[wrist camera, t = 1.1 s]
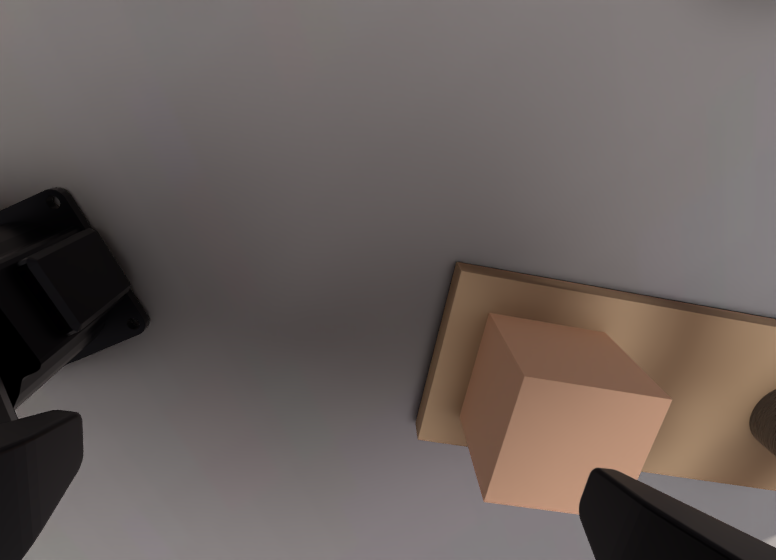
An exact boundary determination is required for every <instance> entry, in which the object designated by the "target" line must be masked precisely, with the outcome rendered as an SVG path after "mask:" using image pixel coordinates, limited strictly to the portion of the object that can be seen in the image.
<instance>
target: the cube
mask: <svg viewBox="0 0 776 560" xmlns="http://www.w3.org/2000/svg"><path fill="white" fill-rule="evenodd" d="M671 402H672V399H671V398H670V397H669V396H668V395H667V394H666V393H665V392H664V391H663V390H662V389H661V388H660V387H659V386H658V385H657V384H656V383H655V382H654V381H653V380H652V379H651V378H650V377H649V376H648V375H647V374H646V373H645V372H644V371H643V370H642V369H641V368H640V367H639V366H638V365H637V364H636V363H635V362H634V361H633V360H632V359H631V358H630V357H629V356H628V355H627V354H626V353H625V352H624V351H623V350H622V349H621V348H620V347H619V346H618V345H617V344H616V343H615V342H614V341H613V340H612V339H611V338H610V337H609V336H608V335H607V334H606V333H605V332H599V331H594V330H588V329H582V328H576V327H570V326H564V325H558V324H553V323H547V322H541V321H535V320H529V319H523V318H517V317H512V316H506V315H500V314H494V313H489V315H488V318H487V322H486V325H485V329H484V332H483V336H482V339H481V343H480V346H479V350H478V353H477V357H476V360H475V364H474V367H473V371H472V374H471V378H470V381H469V385H468V388H467V392H466V395H465V399H464V402H463V406H462V409H461V413H460V416H459V417H460V420H461V424H462V427H463V431H464V434H465V438H466V441H467V445H468V448H469V452H470V455H471V459H472V462H473V466H474V469H475V473H476V476H477V480H478V483H479V487H480V490H481V494H482V497H483V501H484V502H488V503H496V504H504V505H511V506H519V507H526V508H534V509H541V510H549V511H557V512H564V513H572V514H579V503H580V499H581V496H582V494H583V491H584V488H585V485H586V482H587V480H588V477H589V474H590V472H591V471H592V470H593V469H594V468H607V469H614V470H617V471H619V472H622V473H624V474H626V475H628V476H630V477H632V478H634V479H636V480H637V479H638V477H639V475H640V473H641V470H642V468H643V466H644V463H645V461H646V459H647V457H648V454H649V452H650V450H651V448H652V445H653V443H654V441H655V438H656V436H657V434H658V432H659V429H660V427H661V425H662V423H663V420H664V418H665V416H666V413H667V411H668V409H669V407H670V404H671Z"/></svg>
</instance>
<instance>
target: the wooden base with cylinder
mask: <svg viewBox="0 0 776 560" xmlns="http://www.w3.org/2000/svg"><path fill="white" fill-rule="evenodd" d="M489 313H494V314H500V315H506V316H512V317H517V318H523V319H529V320H535V321H541V322H547V323H553V324H558V325H564V326H570V327H576V328H582V329H588V330H594V331H599V332H605V333H606V334H607V335H608V336H609V337H610V338H611V339H612V340H613V341H614V342H615V343H616V344H617V345H618V346H619V347H620V348H621V349H622V350H623V351H624V352H625V353H626V354H627V355H628V356H629V357H630V358H631V359H632V360H633V361H634V362H635V363H636V364H637V365H638V366H639V367H640V368H641V369H642V370H643V371H644V372H645V373H646V374H647V375H648V376H649V377H650V378H651V379H652V380H653V381H654V382H655V383H656V384H657V385H658V386H659V387H660V388H661V389H662V390H663V391H664V392H665V393H666V394H667V395H668V396H669V397H670V398H671V399H672V402H671V404H670V407H669V409H668V411H667V413H666V416H665V418H664V420H663V423H662V425H661V427H660V429H659V432H658V434H657V436H656V438H655V441H654V443H653V445H652V448H651V450H650V452H649V454H648V457H647V459H646V461H645V463H644V466H643V468H642V470H641V472H648V473H655V474H662V475H669V476H676V477H683V478H690V479H697V480H704V481H711V482H718V483H725V484H732V485H739V486H746V487H753V488H760V489H767V490H774V491H776V319H772V318H767V317H761V316H755V315H750V314H744V313H739V312H733V311H728V310H722V309H717V308H711V307H705V306H700V305H694V304H689V303H683V302H678V301H672V300H666V299H661V298H655V297H650V296H644V295H639V294H633V293H628V292H622V291H616V290H611V289H605V288H600V287H594V286H589V285H583V284H578V283H572V282H566V281H561V280H555V279H550V278H544V277H539V276H533V275H528V274H522V273H516V272H511V271H505V270H500V269H494V268H489V267H483V266H478V265H472V264H466V263H461V262H456V265H455V269H454V273H453V277H452V281H451V285H450V289H449V293H448V297H447V301H446V305H445V309H444V313H443V317H442V321H441V325H440V329H439V333H438V336H437V340H436V344H435V348H434V352H433V356H432V360H431V364H430V368H429V372H428V376H427V380H426V384H425V388H424V392H423V396H422V400H421V404H420V408H419V411H418V415H417V419H416V430H417V437H418V440H424V441H431V442H438V443H445V444H452V445H459V446H466V447H468V445H467V441H466V438H465V434H464V431H463V427H462V424H461V420H460V417H459V416H460V413H461V409H462V406H463V402H464V399H465V395H466V392H467V388H468V385H469V381H470V378H471V374H472V371H473V367H474V364H475V360H476V357H477V353H478V350H479V346H480V343H481V339H482V336H483V332H484V329H485V325H486V322H487V318H488V315H489Z"/></svg>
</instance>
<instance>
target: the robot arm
mask: <svg viewBox="0 0 776 560" xmlns="http://www.w3.org/2000/svg"><path fill="white" fill-rule="evenodd" d="M53 196H55V197H57V198H58V199H59V200H60V207H58V206H56V205H55V204H54V203H53V200H52V199H53ZM131 318H134V319H136V320H138V321H139V324H140V325H138V326H137V325H134V324H133V323H132V321H131ZM148 325H149V318H148V315H147V314H146V312H145V311H144V309H143V307H142V306H141V304H140V303H139V301H138V300H137V298H136V297H135V295H134V293H133V292H132V290H131V289H130V282H129V281H128V279H127V277H126V276H125V274H124V273H123V271H122V270H121V268H120V266H119V265H118V263H117V262H116V260H115V259H114V257H113V256H112V254H111V252H110V251H109V249H108V248H107V246H106V245H105V243H104V241H103V240H102V238H101V237H100V235H99V234H98V232H97V231H95V230H93V229H92V228H91V226H90V225H89V223H88V222H87V220H86V219H85V217H84V216H83V214H82V212H81V211H80V209H79V208H78V206H77V205H76V203H75V201H74V200H73V198H72V197H71V195H70V194H69V193H68V192H67V191H66V190H64V189H62V188H57V187H56V188H51V189H48V190H45V191H43V192H40V193H38V194H36V195H34V196H32V197H30V198H27V199H25V200H23V201H21V202H19V203H17V204H14V205H12V206H10V207H8V208H6V209H4V210H1V211H0V560H22V558H23V557H24V556H25V554H26V553H27V552H28V550H29V549H30V547H31V546H32V545H33V543H34V542H35V540H36V539H37V537H38V536H39V534H40V533H41V531H42V529H43V528H44V526H45V524H46V523H47V521H48V520H49V518H50V516H51V515H52V513H53V511H54V510H55V508H56V506H57V505H58V503H59V502H60V500H61V498H62V497H63V495H64V493H65V492H66V490H67V488H68V487H69V485H70V484H71V482H72V480H73V479H74V477H75V475H76V474H77V472H78V470H79V468H80V466H81V463H82V459H83V427H82V418H81V415H80V414H79V413H77V412H72V411H63V410H52V411H48V412H44V413H40V414H36V415H33V416H29V417H25V418H21V419H18V418H17V415H16V413H15V409H16V408H17V407H18V406H20V405H21V404H22V403H23V402H24V401H25V400H26V399H27V398H29V397H30V396H31V395H32V394H33V393H34V392H35V391H36V390H38V389H39V388H40V387H41V386H42V385H43V384H44V383H45V382H46V381H48V380H49V379H50V378H51V377H52V376H53V375H54V374H55V373H57V372H58V371H59V370H60V369H61V368H62V367H63V366H65V365H67V364H69V363H72V362H74V361H76V360H79V359H81V358H84V357H86V356H88V355H91V354H93V353H96V352H98V351H100V350H103V349H105V348H108V347H110V346H112V345H115V344H117V343H119V342H122V341H124V340H127V339H129V338H131V337H134V336H136V335H139V334H141V333H142V332H143V331H144V330H145V329H146V328H147V327H148ZM579 516H580V520H581V522H582V525H583V528H584V530H585V533H586V536H587V538H588V541H589V544H590V546H591V549H592V551H593V554H594V557H595V559H596V560H776V548H775V547H773V546H771V545H769V544H767V543H765V542H763V541H761V540H759V539H756V538H754V537H752V536H750V535H748V534H746V533H744V532H742V531H740V530H738V529H736V528H734V527H732V526H730V525H728V524H726V523H724V522H722V521H720V520H718V519H716V518H714V517H712V516H709V515H707V514H705V513H703V512H701V511H699V510H697V509H695V508H693V507H691V506H689V505H687V504H685V503H683V502H681V501H679V500H677V499H675V498H673V497H671V496H669V495H667V494H664V493H662V492H660V491H658V490H656V489H654V488H652V487H650V486H648V485H646V484H644V483H642V482H640V481H638V480H636V479H634V478H632V477H630V476H628V475H626V474H624V473H622V472H619V471H617V470H614V469H607V468H594V469H593V470H592V471H591V472H590V474H589V477H588V480H587V482H586V485H585V488H584V491H583V494H582V496H581V499H580V503H579Z"/></svg>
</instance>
